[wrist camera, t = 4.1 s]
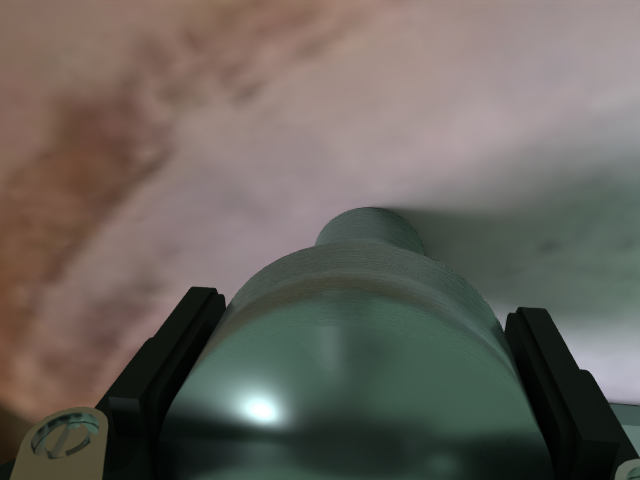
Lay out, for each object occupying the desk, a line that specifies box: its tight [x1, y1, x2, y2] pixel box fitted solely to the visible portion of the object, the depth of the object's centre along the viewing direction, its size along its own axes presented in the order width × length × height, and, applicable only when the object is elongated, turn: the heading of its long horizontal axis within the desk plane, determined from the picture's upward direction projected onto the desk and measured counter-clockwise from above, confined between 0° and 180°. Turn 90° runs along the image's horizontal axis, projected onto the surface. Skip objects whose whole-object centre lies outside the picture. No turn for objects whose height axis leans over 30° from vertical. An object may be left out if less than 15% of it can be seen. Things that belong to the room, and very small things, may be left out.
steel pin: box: [157, 208, 556, 480], centre depth 12 cm, size 6×6×9 cm
